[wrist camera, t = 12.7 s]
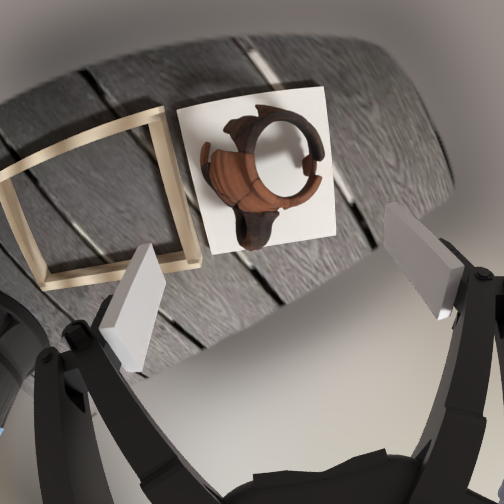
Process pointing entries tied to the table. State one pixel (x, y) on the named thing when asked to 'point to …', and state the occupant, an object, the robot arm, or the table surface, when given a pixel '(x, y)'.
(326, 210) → the ceramic tile
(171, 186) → the frame
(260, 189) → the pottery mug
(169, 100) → the table surface
